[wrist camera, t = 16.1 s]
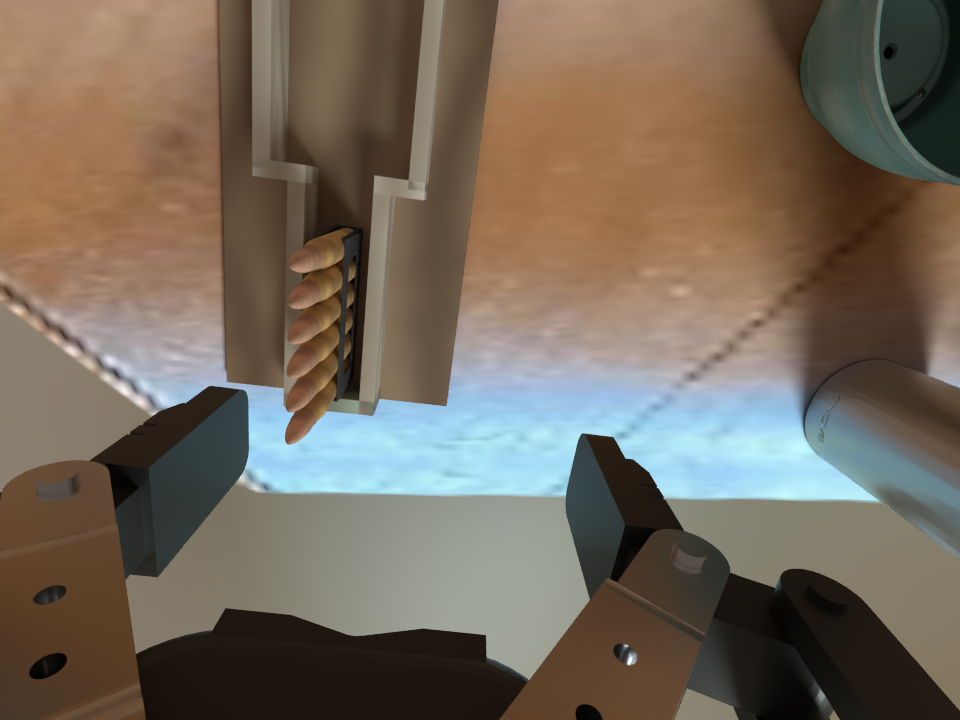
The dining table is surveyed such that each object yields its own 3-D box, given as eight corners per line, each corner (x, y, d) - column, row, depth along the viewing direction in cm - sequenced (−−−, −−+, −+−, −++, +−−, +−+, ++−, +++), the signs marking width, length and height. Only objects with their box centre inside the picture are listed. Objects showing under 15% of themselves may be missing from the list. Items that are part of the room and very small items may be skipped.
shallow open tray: (507, -71, 29) (514, -109, 25) (446, 401, 38) (445, 423, 35) (222, -126, 28) (187, -173, 24) (231, 377, 37) (207, 398, 33)
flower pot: (711, 167, 34) (822, 156, 23) (798, -130, 29) (987, -309, 18) (927, 209, 35) (1120, 216, 25) (1045, -67, 30) (1348, -200, 20)
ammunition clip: (334, 224, 33) (271, 241, 22) (363, 228, 33) (314, 247, 22) (327, 374, 36) (268, 457, 25) (353, 377, 37) (306, 461, 25)
